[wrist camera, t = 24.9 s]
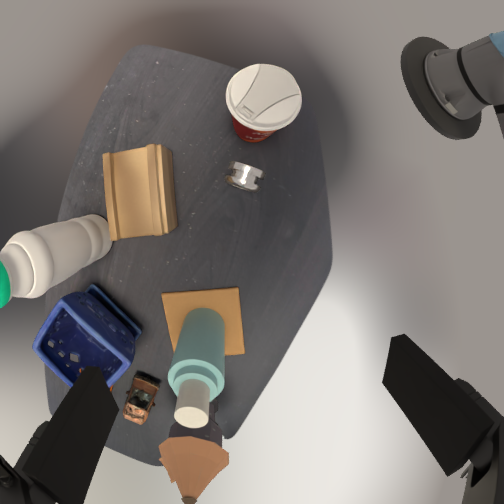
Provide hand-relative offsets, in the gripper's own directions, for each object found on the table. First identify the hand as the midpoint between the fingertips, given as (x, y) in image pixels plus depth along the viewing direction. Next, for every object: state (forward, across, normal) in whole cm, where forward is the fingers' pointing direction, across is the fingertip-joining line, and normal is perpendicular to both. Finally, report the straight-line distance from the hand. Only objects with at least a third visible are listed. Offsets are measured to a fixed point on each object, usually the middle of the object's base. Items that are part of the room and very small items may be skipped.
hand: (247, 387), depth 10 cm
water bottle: (+30, -22, +4) cm, 38 cm away
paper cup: (+31, +4, +17) cm, 35 cm away
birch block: (+30, -12, +9) cm, 34 cm away
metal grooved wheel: (+31, +2, +9) cm, 32 cm away
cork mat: (+30, -6, -12) cm, 33 cm away
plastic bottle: (+20, -6, -16) cm, 26 cm away
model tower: (+30, -10, -26) cm, 41 cm away
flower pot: (+30, -24, -11) cm, 40 cm away
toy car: (+30, -22, -27) cm, 46 cm away
